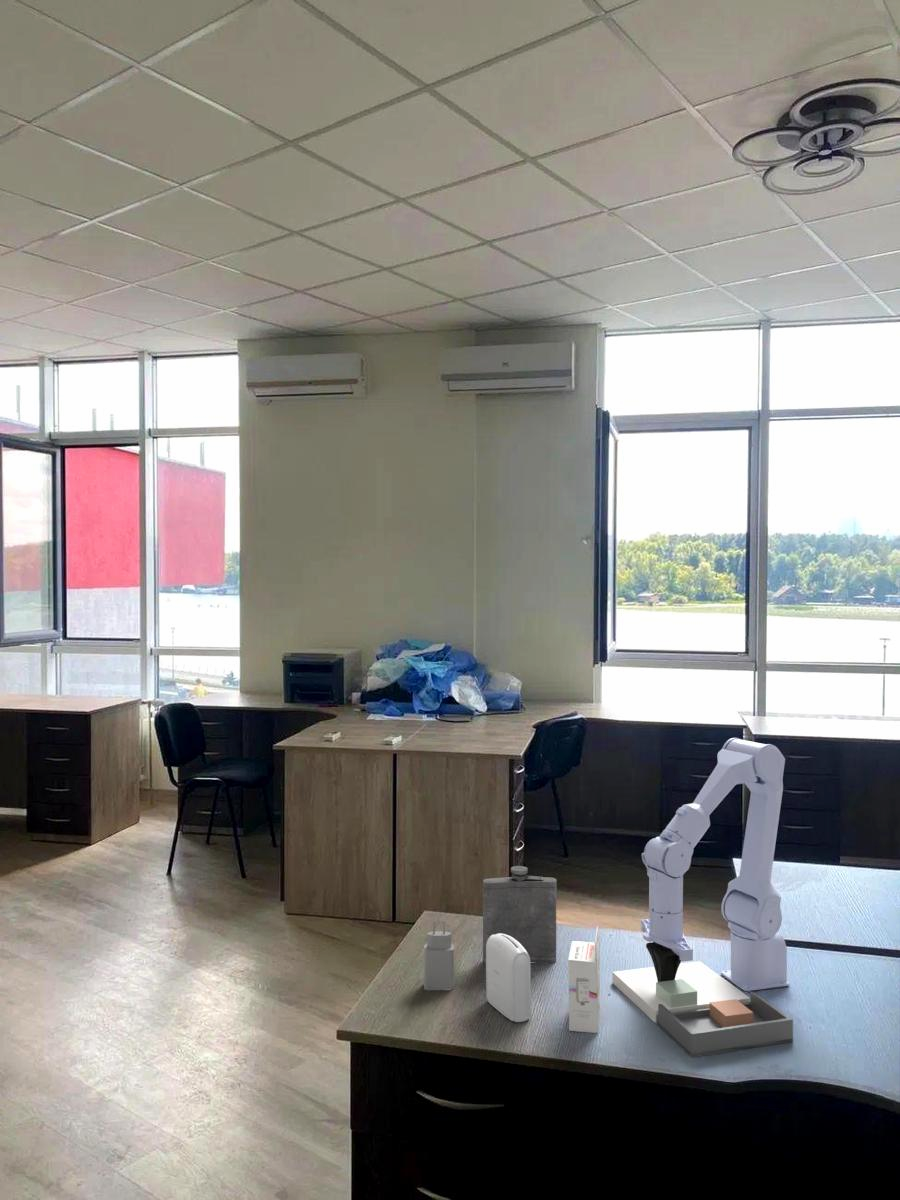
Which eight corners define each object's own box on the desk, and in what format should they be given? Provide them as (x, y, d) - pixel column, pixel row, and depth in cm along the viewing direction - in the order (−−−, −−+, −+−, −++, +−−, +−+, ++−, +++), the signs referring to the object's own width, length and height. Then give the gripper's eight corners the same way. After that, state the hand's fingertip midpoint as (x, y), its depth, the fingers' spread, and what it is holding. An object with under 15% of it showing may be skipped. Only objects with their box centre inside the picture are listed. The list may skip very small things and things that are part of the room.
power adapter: (424, 982, 161) (424, 917, 161) (453, 982, 161) (453, 917, 162) (423, 990, 158) (423, 923, 158) (454, 990, 158) (454, 923, 158)
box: (751, 1010, 151) (751, 990, 151) (792, 1041, 140) (792, 1019, 140) (656, 1024, 146) (656, 1002, 146) (691, 1057, 135) (691, 1034, 135)
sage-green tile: (681, 991, 153) (681, 978, 153) (697, 1004, 149) (697, 991, 149) (655, 995, 152) (655, 982, 152) (670, 1008, 147) (670, 994, 147)
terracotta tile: (736, 1012, 149) (736, 999, 149) (753, 1026, 144) (753, 1012, 144) (709, 1015, 148) (709, 1002, 148) (725, 1029, 143) (725, 1016, 143)
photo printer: (482, 1000, 154) (482, 929, 154) (504, 995, 156) (504, 925, 156) (512, 1025, 145) (512, 950, 145) (534, 1020, 147) (534, 946, 147)
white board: (699, 971, 166) (699, 961, 166) (750, 1009, 151) (750, 998, 151) (612, 982, 161) (612, 971, 161) (655, 1023, 146) (655, 1011, 146)
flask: (481, 957, 173) (481, 865, 173) (553, 955, 174) (554, 864, 174) (483, 965, 169) (483, 871, 169) (557, 963, 170) (557, 870, 170)
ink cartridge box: (570, 1007, 152) (571, 922, 152) (600, 1010, 151) (600, 924, 151) (567, 1031, 143) (567, 940, 143) (598, 1034, 142) (598, 943, 142)
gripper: (626, 897, 160) (625, 972, 160) (666, 925, 146) (665, 1007, 146) (661, 893, 162) (661, 967, 162) (704, 921, 148) (703, 1002, 148)
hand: (665, 986), depth 154 cm, fingers closed
